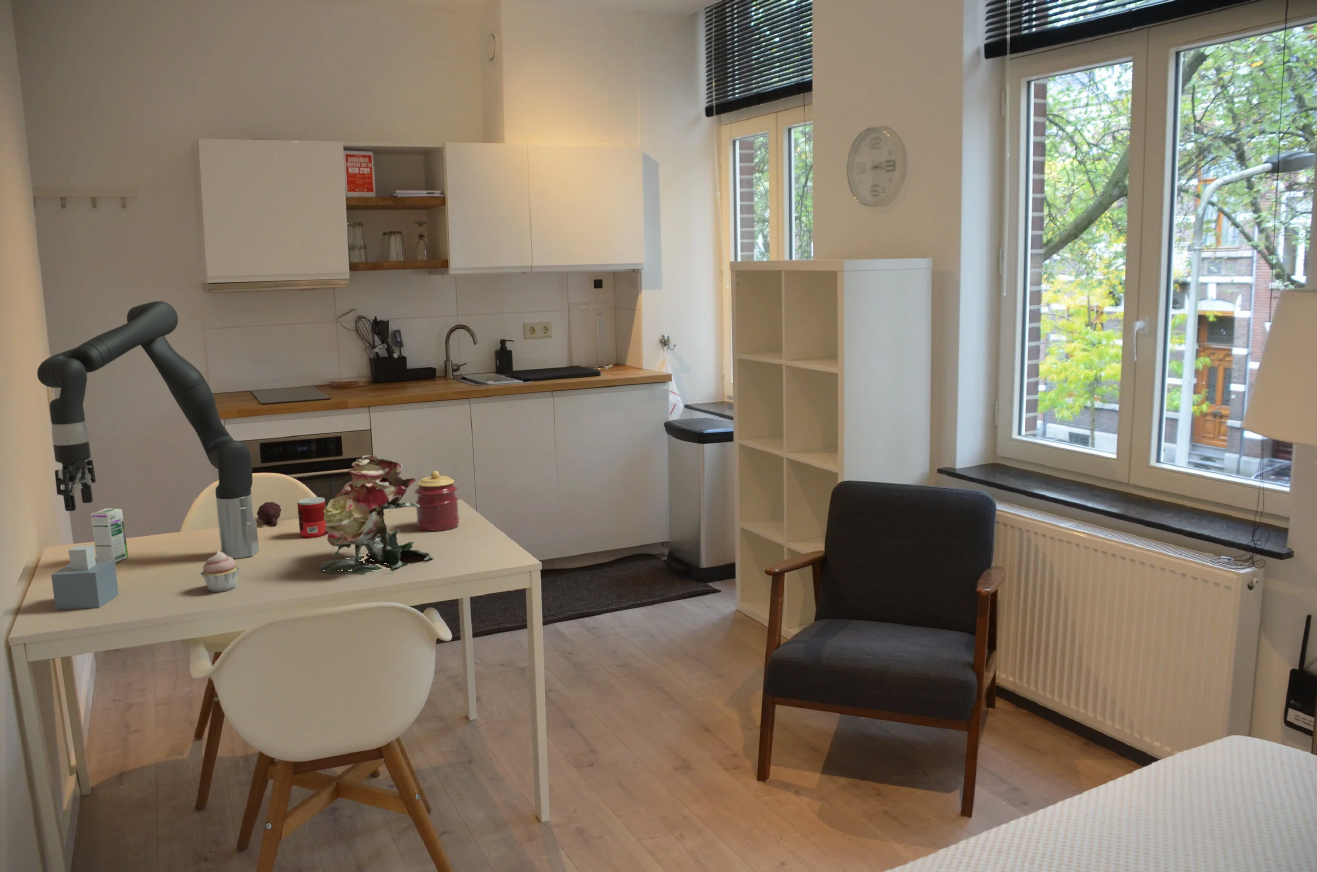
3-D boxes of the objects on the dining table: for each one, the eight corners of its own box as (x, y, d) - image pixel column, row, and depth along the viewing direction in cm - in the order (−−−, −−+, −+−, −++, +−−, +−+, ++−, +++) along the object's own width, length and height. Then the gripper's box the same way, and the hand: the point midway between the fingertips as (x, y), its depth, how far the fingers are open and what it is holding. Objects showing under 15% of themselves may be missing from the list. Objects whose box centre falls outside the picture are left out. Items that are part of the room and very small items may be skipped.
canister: (426, 521, 321) (422, 466, 318) (465, 521, 320) (462, 466, 317) (410, 531, 309) (406, 475, 306) (451, 532, 307) (448, 475, 304)
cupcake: (214, 582, 262) (210, 545, 260) (248, 583, 261) (244, 545, 259) (194, 594, 253) (190, 555, 251) (229, 594, 252) (225, 555, 250)
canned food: (332, 533, 309) (330, 498, 307) (311, 539, 302) (308, 503, 300) (316, 530, 313) (313, 496, 311) (294, 536, 306) (291, 501, 304)
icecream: (251, 500, 328) (256, 513, 316) (274, 492, 331) (280, 504, 318) (258, 519, 331) (264, 533, 318) (281, 510, 334) (288, 524, 321)
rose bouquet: (361, 546, 293) (354, 445, 288) (442, 556, 281) (436, 450, 276) (295, 571, 271) (285, 461, 266) (380, 583, 258) (372, 468, 253)
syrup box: (114, 563, 282) (108, 513, 279) (96, 562, 283) (89, 512, 281) (128, 557, 287) (123, 508, 285) (110, 557, 289) (104, 507, 286)
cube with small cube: (118, 594, 254) (112, 541, 252) (99, 607, 244) (92, 552, 242) (76, 596, 253) (69, 543, 251) (55, 609, 243) (48, 554, 241)
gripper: (72, 445, 236) (81, 512, 239) (100, 435, 250) (108, 499, 253) (39, 447, 235) (48, 514, 238) (69, 436, 249) (77, 500, 252)
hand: (79, 506), depth 245 cm, fingers open, 8 cm apart
